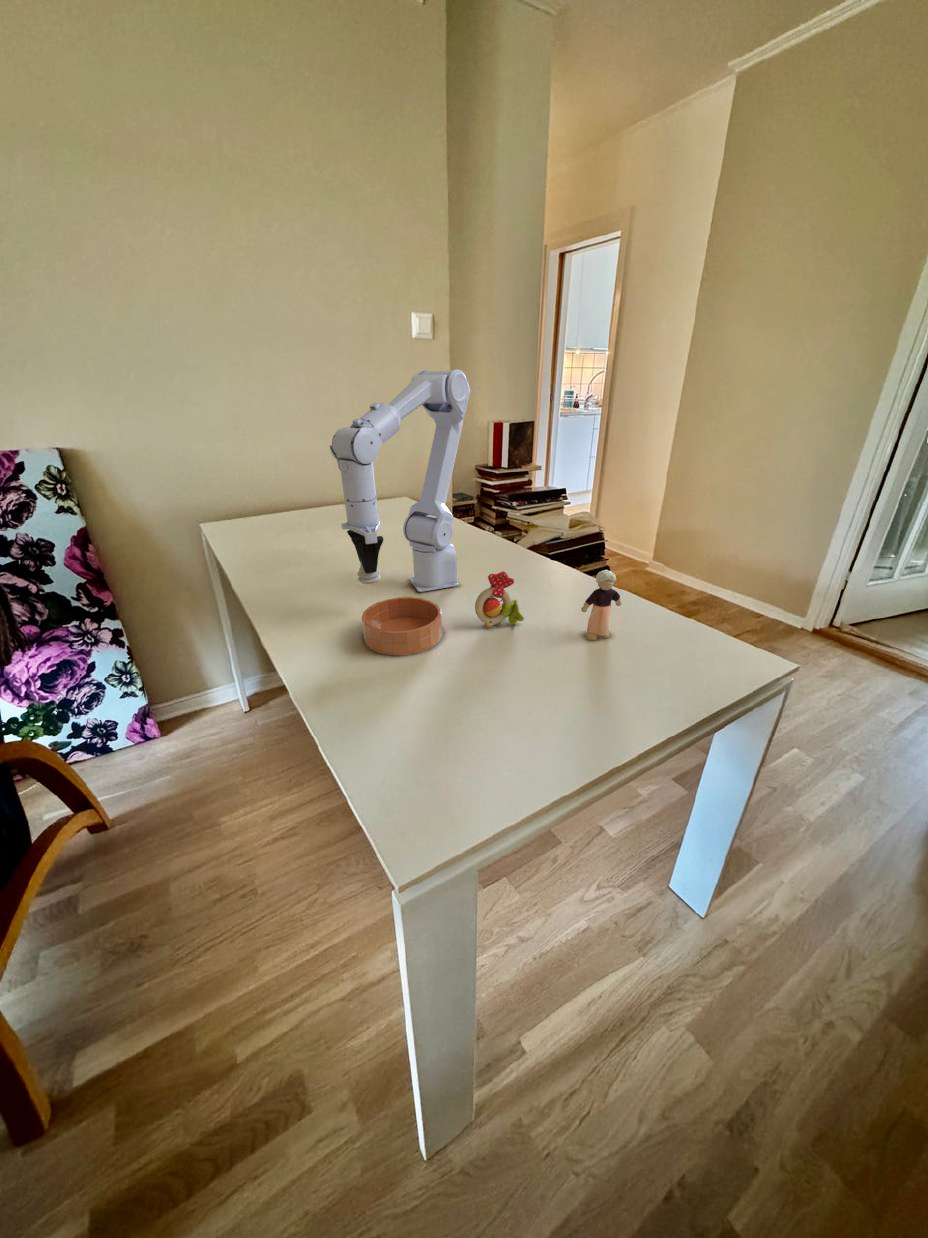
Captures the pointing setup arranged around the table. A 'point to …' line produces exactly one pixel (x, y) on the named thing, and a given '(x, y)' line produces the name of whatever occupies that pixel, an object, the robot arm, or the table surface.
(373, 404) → the robot arm
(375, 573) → the rook chess piece
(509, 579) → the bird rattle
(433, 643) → the pan
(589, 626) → the grandmother figurine
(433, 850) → the table surface
